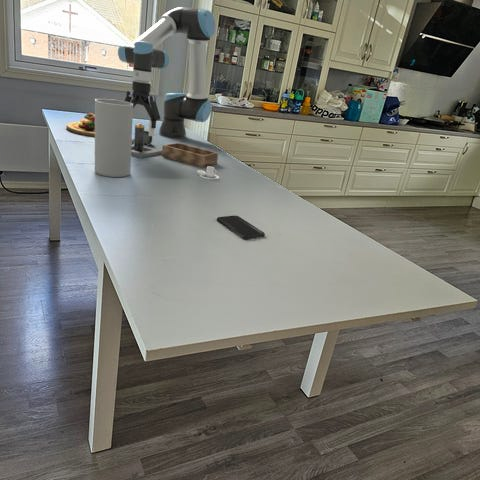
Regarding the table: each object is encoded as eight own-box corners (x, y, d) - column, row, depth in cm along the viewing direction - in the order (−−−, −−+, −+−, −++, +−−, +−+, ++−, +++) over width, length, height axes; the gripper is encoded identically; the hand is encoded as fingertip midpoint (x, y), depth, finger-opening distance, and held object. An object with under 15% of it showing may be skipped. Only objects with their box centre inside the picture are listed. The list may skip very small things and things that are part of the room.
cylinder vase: (137, 176, 150) (140, 105, 140) (106, 179, 141) (107, 104, 131) (118, 167, 157) (120, 99, 147) (88, 169, 148) (87, 98, 138)
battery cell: (138, 150, 186) (139, 122, 181) (145, 152, 185) (146, 124, 180) (132, 151, 183) (133, 122, 178) (139, 153, 182) (140, 124, 176)
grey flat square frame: (136, 146, 193) (136, 143, 192) (162, 153, 187) (162, 150, 187) (114, 150, 181) (114, 146, 180) (140, 158, 175) (140, 154, 174)
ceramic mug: (152, 143, 205) (152, 128, 202) (152, 146, 198) (152, 131, 195) (131, 141, 203) (131, 126, 200) (130, 145, 196) (130, 129, 193)
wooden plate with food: (64, 124, 220) (64, 108, 216) (124, 128, 234) (125, 113, 230) (68, 136, 194) (68, 118, 191) (136, 140, 208) (137, 124, 205)
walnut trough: (161, 156, 184) (162, 145, 182) (177, 153, 194) (178, 142, 192) (202, 167, 175) (204, 156, 173) (217, 163, 185) (218, 152, 183)
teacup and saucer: (193, 174, 164) (195, 164, 163) (208, 173, 170) (209, 163, 168) (208, 181, 159) (209, 170, 158) (223, 179, 165) (224, 169, 163)
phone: (236, 215, 125) (266, 234, 114) (236, 218, 126) (266, 237, 115) (215, 217, 121) (244, 237, 110) (214, 220, 121) (243, 241, 110)
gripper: (113, 76, 174) (111, 127, 182) (159, 86, 164) (156, 138, 172) (125, 77, 180) (123, 126, 188) (171, 86, 171) (167, 137, 179)
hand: (139, 132), depth 180 cm, fingers open, 13 cm apart
